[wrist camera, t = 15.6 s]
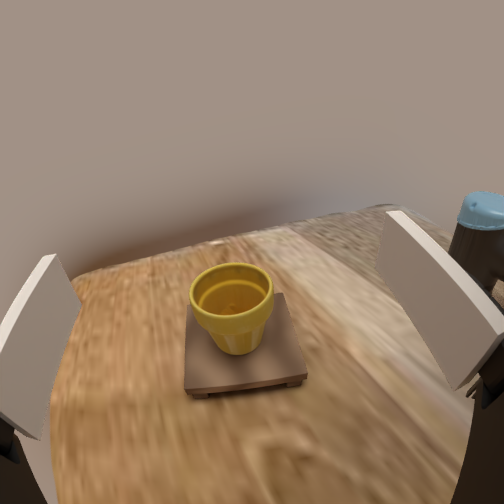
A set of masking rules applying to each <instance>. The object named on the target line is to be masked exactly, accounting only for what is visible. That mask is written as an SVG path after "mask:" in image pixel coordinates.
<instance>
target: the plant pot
mask: <svg viewBox="0 0 504 504" xmlns="http://www.w3.org/2000/svg"><path fill="white" fill-rule="evenodd" d="M189 300H190V304H191V307H192V310H193V313H194V316H195V318H196V320H197V322H198V323H199V324H200V325H201V326H202V327H203V328H204V329H206V330H207V331H208V332H209V333H210V335H211V336H212V338H213V340H214V341H215V343H216V344H217V345H218V347H219V348H220V349H221V350H222V351H224V352H226V353H228V354H231V355H243V354H247V353H249V352H251V351H253V350H254V349H256V348H257V347H258V345H259V344H260V342H261V339H262V335H263V331H264V326H265V322H266V320H267V319H268V318H269V316H270V314H271V312H272V309H273V303H274V290H273V282H272V280H271V278H270V276H269V275H268V274H267V273H266V272H265V271H264V270H263V269H261V268H259V267H257V266H254V265H251V264H247V263H226V264H221V265H217V266H215V267H212V268H210V269H208V270H206V271H204V272H203V273H201V274H200V275H199V276H198V277H197V278H196V279H195V280H194V281H193V283H192V284H191V287H190V290H189Z"/></svg>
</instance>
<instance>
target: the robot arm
mask: <svg viewBox="0 0 504 504" xmlns="http://www.w3.org/2000/svg"><path fill="white" fill-rule="evenodd" d="M457 221H458V223H457V226H456V230H455V233H454V236H453V239H452V242H451V245H450V248H449V251H448V253H447V252H446V251H445V250H444V249H443V248H441V247H440V246H439V245H438V244H437V243H436V242H435V241H434V240H433V239H432V238H431V237H430V236H429V235H428V234H427V233H426V232H424V231H423V230H422V229H421V228H420V227H419V226H418V225H417V224H416V223H414V222H413V221H412V220H411V219H410V218H409V217H408V216H406V215H405V214H404V213H403V212H402V211H389V212H386V213H385V219H384V224H383V230H382V235H381V240H380V245H379V250H378V255H377V259H376V264H375V269H376V271H377V272H378V273H379V275H380V276H381V277H382V279H383V280H384V282H385V283H386V284H387V286H388V287H389V289H390V290H391V291H392V293H393V294H394V296H395V297H396V299H397V300H398V302H399V303H400V304H401V306H402V307H403V309H404V310H405V312H406V313H407V315H408V316H409V318H410V319H411V321H412V322H413V324H414V326H415V327H416V329H417V330H418V332H419V333H420V335H421V337H422V338H423V340H424V341H425V343H426V345H427V346H428V348H429V349H430V351H431V353H432V354H433V356H434V358H435V359H436V361H437V363H438V365H439V366H440V368H441V370H442V371H443V373H444V375H445V377H446V379H447V380H448V382H449V384H450V386H451V388H452V389H453V391H455V390H457V389H459V388H461V387H462V386H464V385H466V384H468V383H469V382H470V381H471V380H472V378H473V377H474V376H475V375H476V374H477V373H479V375H480V376H481V377H480V378H479V379H478V380H477V382H476V383H475V384H474V385H473V386H472V387H471V388H470V389H469V390H468V392H467V394H466V397H467V398H468V397H469V396H470V395H471V394H472V393H473V392H474V391H475V390H476V393H475V394H474V395H473V396H472V399H475V404H474V412H473V419H472V425H471V430H470V436H469V440H468V445H467V450H466V454H465V458H464V462H463V466H462V469H461V473H460V476H459V480H458V483H457V486H456V489H455V492H454V495H453V498H452V500H451V503H450V504H504V310H503V308H502V307H501V306H500V305H499V304H498V302H497V301H496V300H495V299H494V298H493V297H492V291H493V288H494V286H495V284H496V282H497V280H498V279H499V280H501V281H503V282H504V196H502V195H499V194H495V193H491V192H484V191H479V192H472V193H470V194H468V195H467V196H466V197H465V199H464V201H463V204H462V208H461V211H460V213H459V215H458V217H457ZM81 306H82V304H81V302H80V300H79V299H78V297H77V295H76V293H75V291H74V289H73V287H72V285H71V283H70V281H69V279H68V277H67V275H66V273H65V271H64V269H63V267H62V265H61V263H60V260H59V258H58V256H57V254H53V255H48V256H43V258H42V259H41V260H40V262H39V263H38V265H37V266H36V267H35V269H34V270H33V272H32V273H31V275H30V276H29V278H28V279H27V281H26V283H25V284H24V286H23V287H22V289H21V290H20V292H19V294H18V295H17V297H16V299H15V300H14V302H13V304H12V305H11V307H10V309H9V310H8V312H7V314H6V316H5V318H4V319H3V321H2V323H1V325H0V504H47V502H46V500H45V498H44V496H43V494H42V492H41V490H40V488H39V486H38V484H37V482H36V480H35V478H34V475H33V473H32V471H31V468H30V466H29V464H28V461H27V459H26V456H25V454H24V451H23V448H22V446H21V443H20V440H19V438H18V437H17V436H16V435H15V434H14V429H16V430H17V431H19V432H20V433H22V434H23V435H25V436H26V437H29V438H33V439H36V440H39V441H40V440H41V435H42V429H43V425H44V420H45V416H46V411H47V408H48V404H49V400H50V396H51V392H52V389H53V385H54V382H55V378H56V375H57V372H58V368H59V365H60V362H61V359H62V356H63V353H64V350H65V347H66V345H67V342H68V339H69V336H70V334H71V331H72V328H73V326H74V323H75V321H76V318H77V316H78V313H79V311H80V308H81Z"/></svg>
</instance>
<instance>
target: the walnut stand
mask: <svg viewBox="0 0 504 504" xmlns="http://www.w3.org/2000/svg"><path fill="white" fill-rule="evenodd" d="M307 375H308V372H307V368H306V365H305V362H304V359H303V355H302V352H301V349H300V346H299V342H298V339H297V336H296V333H295V330H294V326H293V323H292V320H291V317H290V314H289V311H288V308H287V304H286V301H285V298H284V295H283V293H277V294H274V303H273V309H272V312H271V314H270V316H269V318H268V319H267V320H266V322H265V326H264V331H263V335H262V339H261V342H260V344H259V345H258V347H257V348H256V349H254V350H253V351H251V352H249V353H247V354H243V355H231V354H228V353H226V352H224V351H222V350H221V349H220V348H219V347H218V345H217V344H216V343H215V341H214V340H213V338H212V336H211V335H210V333H209V332H208V331H207V330H206V329H204V328H203V327H202V326H201V325H200V324H199V323H198V322H197V320H196V318H195V316H194V313H193V310H192V307H191V305H187V318H186V341H185V378H184V389H185V391H186V393H187V395H188V394H193V396H194V398H195V399H199V398H209V393H215V392H225V391H234V390H243V389H250V388H257V387H264V386H271V385H277V384H282V383H286V385H287V387H292V386H297V385H301V382H302V380H304V379H307Z"/></svg>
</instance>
